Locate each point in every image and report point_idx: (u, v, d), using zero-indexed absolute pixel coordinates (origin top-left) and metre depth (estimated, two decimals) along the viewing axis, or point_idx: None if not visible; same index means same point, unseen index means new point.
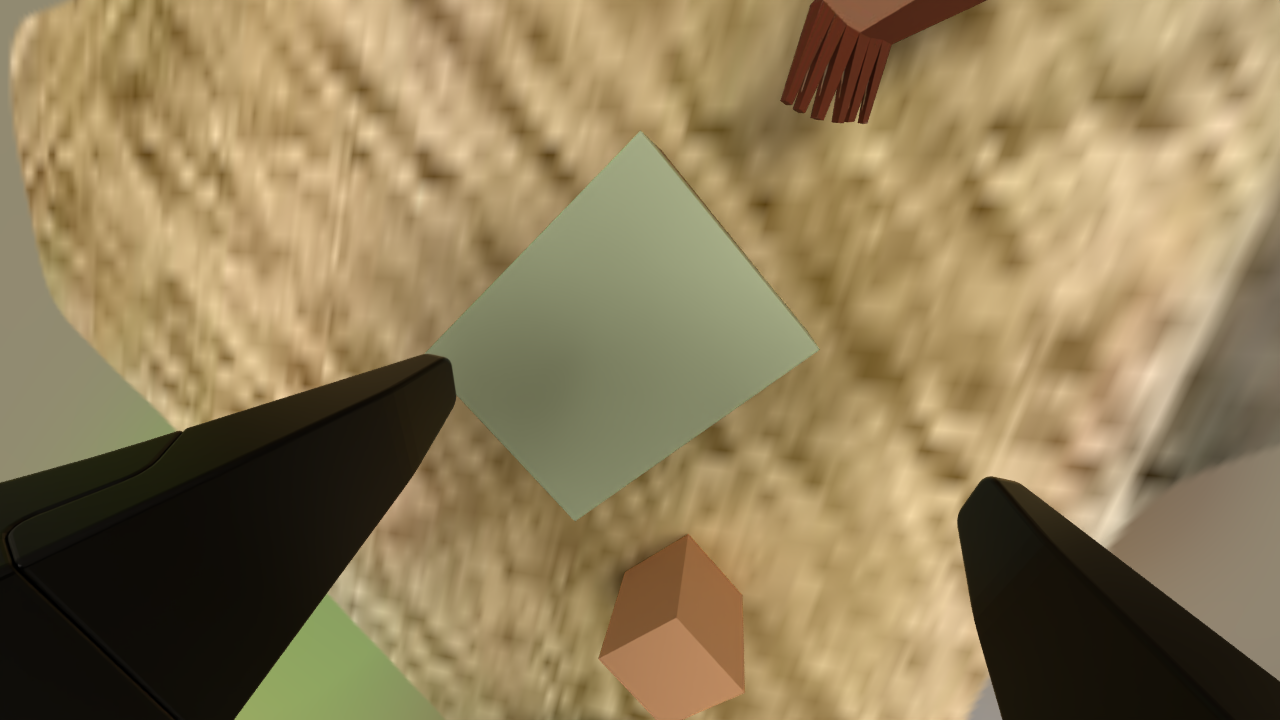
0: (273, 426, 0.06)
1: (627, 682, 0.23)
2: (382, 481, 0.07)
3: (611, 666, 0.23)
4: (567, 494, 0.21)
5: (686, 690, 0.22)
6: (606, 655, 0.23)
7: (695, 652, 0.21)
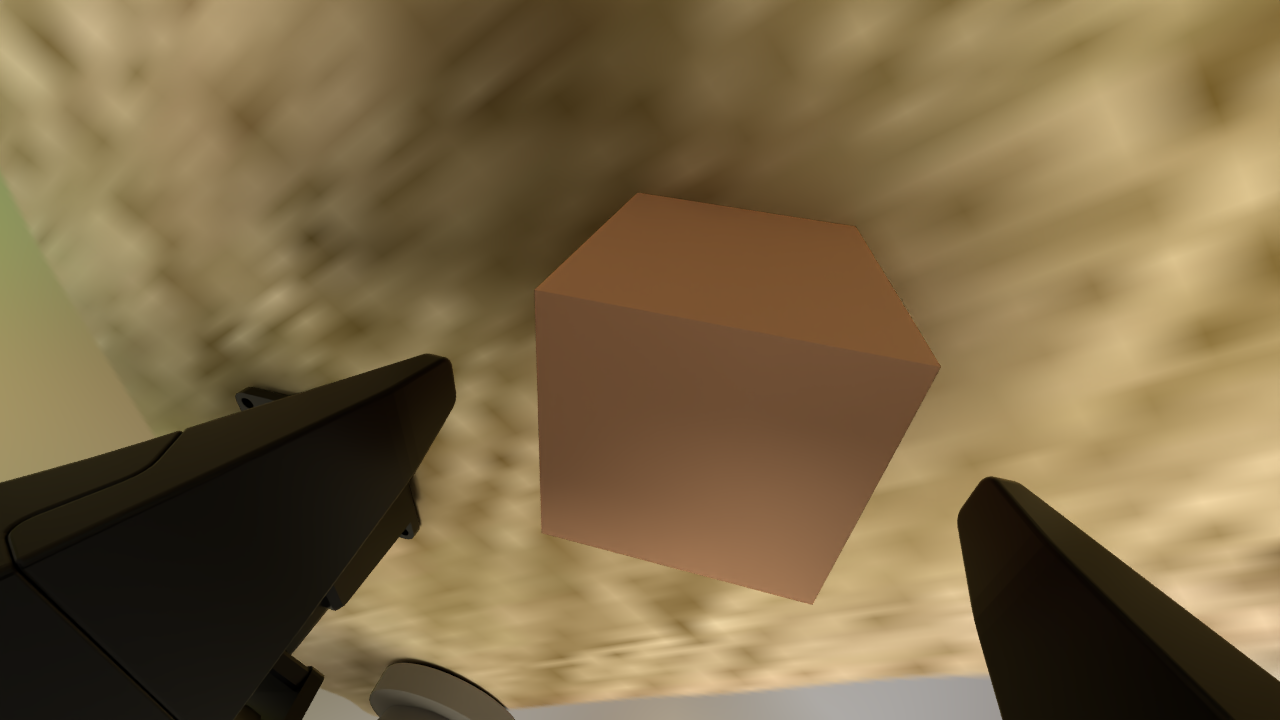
0: (273, 426, 0.06)
1: (557, 406, 0.07)
2: (382, 481, 0.07)
3: (554, 339, 0.06)
4: None
5: (688, 519, 0.08)
6: (571, 299, 0.06)
7: (838, 479, 0.07)
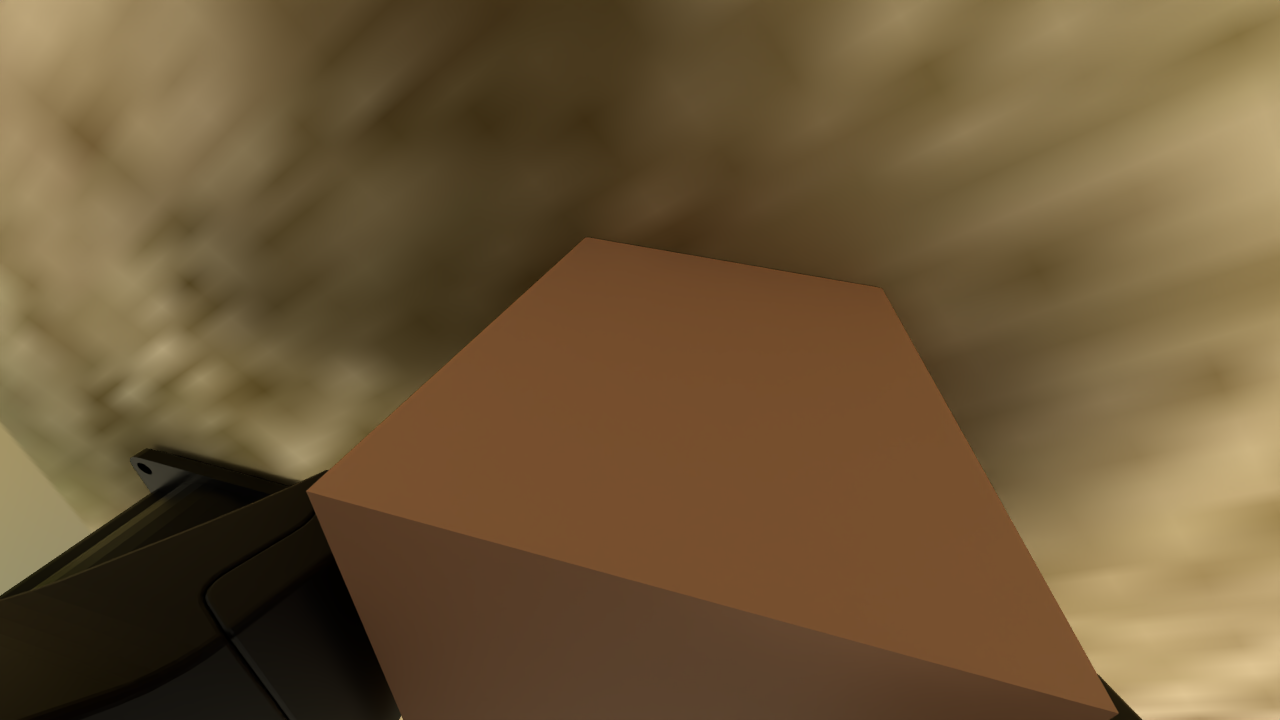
0: None
1: (397, 642, 0.04)
2: None
3: (363, 562, 0.03)
4: None
5: None
6: (374, 512, 0.03)
7: None
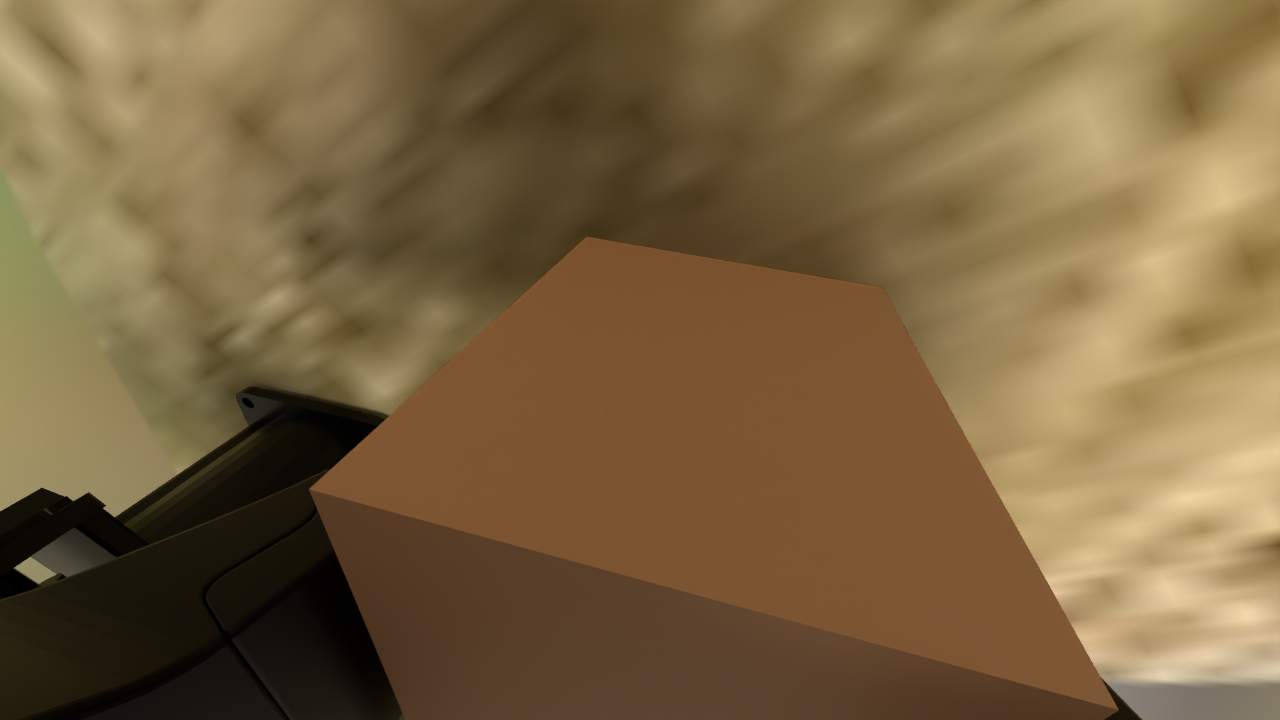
0: None
1: (398, 640, 0.04)
2: None
3: (365, 560, 0.04)
4: None
5: None
6: (377, 510, 0.03)
7: None
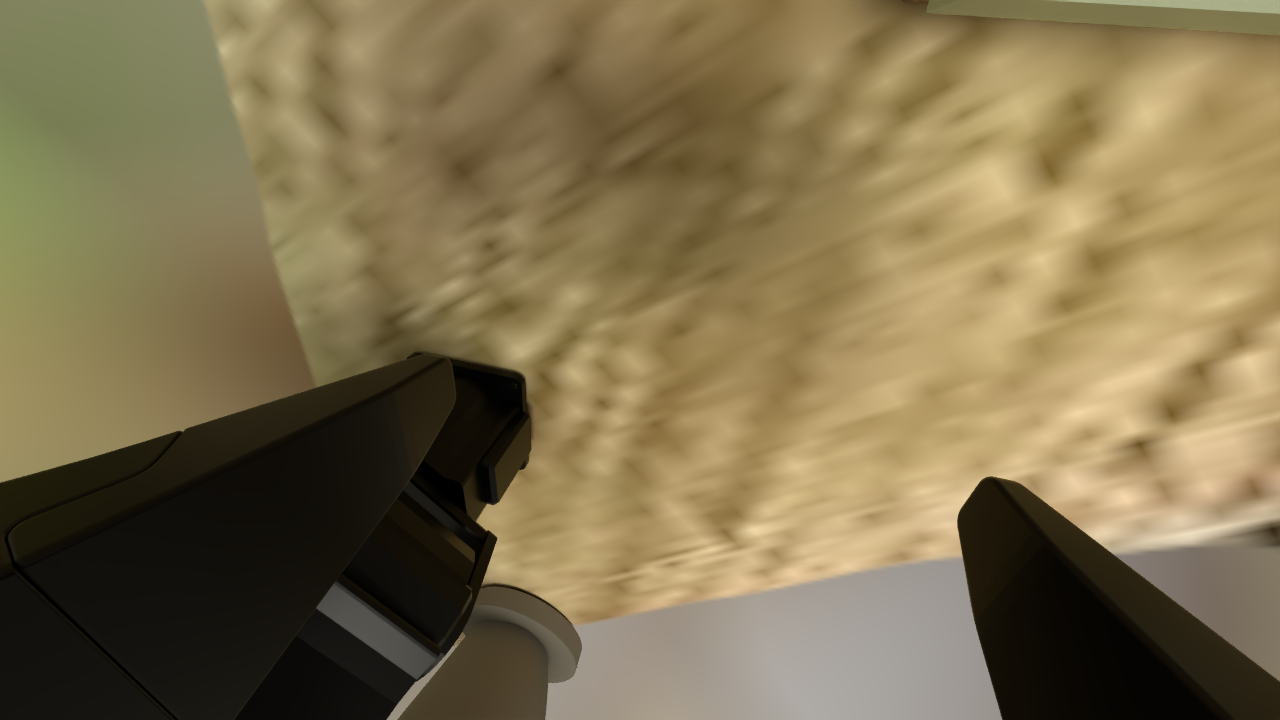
0: (273, 426, 0.06)
1: None
2: (382, 481, 0.07)
3: None
4: None
5: None
6: None
7: None
